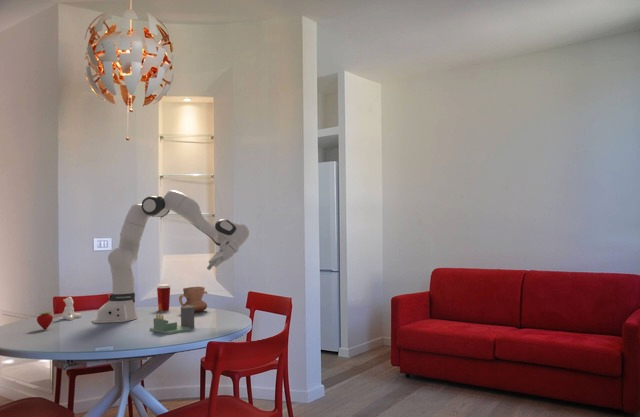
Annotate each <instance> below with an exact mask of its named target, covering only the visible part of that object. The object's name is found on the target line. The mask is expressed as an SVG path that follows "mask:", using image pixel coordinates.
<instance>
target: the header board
mask: <svg viewBox="0 0 640 417" xmlns="http://www.w3.org/2000/svg"><path fill="white" fill-rule="evenodd" d="M149 331H151V332H155V333H156V332H157V333H159V334H165V335H174V334H178V333H184V332H189V331H191V328H189V327H183V326H181V325H178V322H177V321H175V322H169V320H166V319H164V314H157V313H156V314H155V317H153V326H152V327H149Z"/></svg>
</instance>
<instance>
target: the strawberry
mask: <svg viewBox="0 0 640 417" xmlns="http://www.w3.org/2000/svg"><path fill="white" fill-rule="evenodd" d="M53 316H54V315H52V314H51V313H50V312H41V313H40V314H39V315H38V316H37V317H36V322H37V323H38V325H39V326H40V327H41V328H42V329H43V330H44V329H46V330H47V329H48V328H49V326H50V325H51V324H52V322H53V320H54V319H53V318H54V317H53Z"/></svg>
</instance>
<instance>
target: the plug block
mask: <svg viewBox="0 0 640 417" xmlns="http://www.w3.org/2000/svg"><path fill="white" fill-rule="evenodd" d="M180 326H183V327H189V328H192V329H193V328H195V313H194V307H192V306H187V305H186V306H185V307H182V306H180Z"/></svg>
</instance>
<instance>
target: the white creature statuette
mask: <svg viewBox="0 0 640 417" xmlns="http://www.w3.org/2000/svg"><path fill="white" fill-rule="evenodd" d="M62 301H63V302H64V303H65V306H64V310H63V312H62V313H61V315H62V316H61V317H62V319H63V320H65V319H67V321H73V320H75V319H74V318H76V319H81V318H82V314H81V313H77V312H75V309H74V308H75V307H74V303H75V302H74V300H73V298H72V297H71V296H68V297H66V298H63V299H62Z"/></svg>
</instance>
